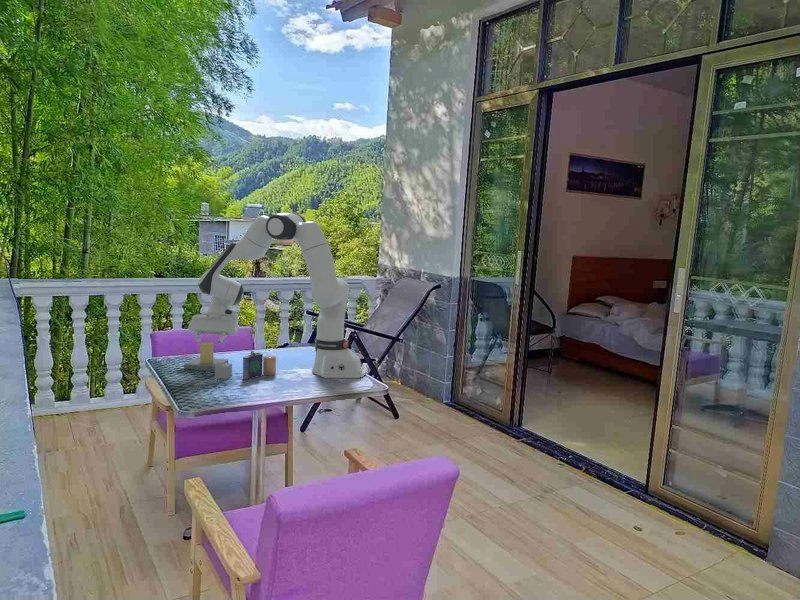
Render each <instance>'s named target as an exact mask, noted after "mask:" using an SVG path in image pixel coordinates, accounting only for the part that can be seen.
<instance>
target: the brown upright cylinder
mask: <svg viewBox="0 0 800 600" xmlns="http://www.w3.org/2000/svg"><path fill="white" fill-rule="evenodd" d="M262 361H263V362H262V375H263V374H264V376H267V375H271V376H275V375H276V373H277V372H276V371H277V367H276V366H277V356H275V355H264V356H263V360H262Z"/></svg>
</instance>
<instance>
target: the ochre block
mask: <svg viewBox="0 0 800 600" xmlns="http://www.w3.org/2000/svg"><path fill="white" fill-rule="evenodd" d="M199 358H200V363H211V362H212V361H213V358H214V341H203V342H200V343H199Z"/></svg>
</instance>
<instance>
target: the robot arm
mask: <svg viewBox="0 0 800 600" xmlns="http://www.w3.org/2000/svg"><path fill="white" fill-rule="evenodd" d="M274 240H278V241H291V240H295V241H296V242H297V243H298V245H299V248H300V250H301V253H302V256H303V258H304V261H305V264H306V267H307V270H308V274H309V279H310V284H311V291H312V292H311V298H312V300H313V303H314V304H315V305H316V306H318V307H320V309H319V313H318V317H317V321H316V338H315V341H314V350H315V356H314V363H313V366H312V370H311V372H312V374H314V375H317V376H320V377H322V378H323V379H324V378H325V379H360V377H361V378H363V377H365V376H366V374H367V369H366V368H365V367H362V362H361V359H360V357H359V356H358V354H357V353H355V352H353V351H352V350H351V349H350V348H349V340H348V339H345V337H344V336H345V332H344V331H345V316H346V312H347V306H348V299H349V298H348V297H349V294H350V286H349V284H348V282H347V281H346V280H344V279H342V278H340V277H337V274H336V269H335V259H334V256H333V254H332V251H331V248H330V245H329V243H328V241H327V237H326V235H325V234H324V232H323V230H322V228H321V227H320V225H319V224H318V222H316V221H313V220H307V221H306V218H304V217H303V216H302V215H300V214H298V213H292V212H278V213H274V214H272V215H270V216H267V215H259V216H257V217H256V218H255V220H254V221H253V222H252V223H251V225H249V228H248V229H247V230H246V232H245V234H244V235H243V237H242V238H241V239H239V240H238V241H232V242H231V243H229V244H228V245H227V246H226V248H225V249H224V250H223V251H222V252H221V253H220V254H219V256H218V257H217V258H216V260H214V262H213V263H212V264H211V265H210V266H209V268H208V269H207V270H206V271H205V272H203V274H202V275H201V276H200V279H199V280H198V284H197V286H198V288H199V290H200V292H201V293H203V294H205V295H209V296H212V297H211V302H210V304H209V306H208V308H207V311H206V313H196V314H194V315H192V317H191V320H190V322H189V324H188V326H187V328H188V331H189V332H190V333H191V334H195V342H196V343H201V339H202V338H201V337H200V335H215V336H217V335H218V336H220V337H218V338H217V343H218V344H223V341H224V340H225V339H226V338H227V337H228V336H233V337H234V336H235V335H236V334H238V329H239V324H238V322H239V318H238V315H237V313H236V312H235V310H231V306H235V305H237V304H239V303H240V302H241V300H242V297H243V294H244V291H245V290H244V286H243V284H242V283H240V282H238V281H237V280H234V279H232V278H230V277H227V276H224V275H223V274H220V273H221V271H223V269H224V268H225V267H226V265H228V263H229V262H230V261H231V262H232V261H234V260H246V261H256V260H259V259H261V258H263V257H264V256H265V254H266V253H267V252H268V250H269V248H270V246H271V245H272V243H273V241H274ZM364 375H365V376H364Z"/></svg>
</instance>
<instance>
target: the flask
mask: <svg viewBox="0 0 800 600" xmlns="http://www.w3.org/2000/svg"><path fill="white" fill-rule="evenodd" d="M249 353H250V354H248V355H245V356H243V357H242V380H243V379H244V380H245V381H246V380H247V379H248V380H251V379H250V378H252V377H255V378H257V377H256V376H259V377H262V376H263V357H264V356H263V355H264V354H263V353H262V352H255V351H254V350H252V349H251V350H250V352H249ZM261 375H262V376H261ZM252 379H253V378H252Z"/></svg>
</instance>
